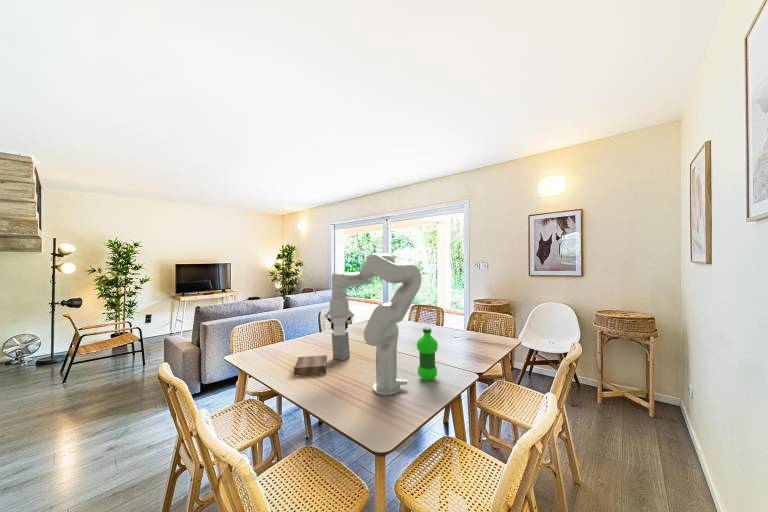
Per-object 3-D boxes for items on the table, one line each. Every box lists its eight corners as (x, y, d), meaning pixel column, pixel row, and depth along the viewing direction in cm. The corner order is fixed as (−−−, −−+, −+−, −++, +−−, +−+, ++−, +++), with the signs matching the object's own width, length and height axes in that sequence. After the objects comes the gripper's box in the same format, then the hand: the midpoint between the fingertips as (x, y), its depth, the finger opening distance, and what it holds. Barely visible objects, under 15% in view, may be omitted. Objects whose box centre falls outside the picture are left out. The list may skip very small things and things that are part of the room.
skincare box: (350, 357, 170) (349, 331, 170) (342, 361, 164) (342, 334, 164) (339, 355, 174) (339, 329, 174) (331, 358, 168) (331, 332, 168)
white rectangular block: (345, 331, 152) (344, 315, 152) (345, 334, 147) (345, 317, 147) (333, 332, 151) (333, 315, 151) (333, 335, 146) (333, 318, 146)
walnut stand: (327, 362, 163) (326, 355, 163) (326, 373, 147) (326, 365, 147) (298, 364, 160) (298, 357, 160) (294, 375, 144) (294, 368, 144)
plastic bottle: (424, 385, 133) (424, 332, 133) (413, 376, 142) (412, 327, 142) (442, 381, 137) (441, 329, 137) (429, 372, 146) (429, 325, 147)
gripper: (354, 294, 154) (355, 327, 154) (322, 295, 151) (323, 329, 151) (355, 296, 147) (356, 330, 147) (322, 297, 144) (322, 332, 144)
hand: (339, 329), depth 149 cm, fingers closed on white rectangular block, 6 cm apart
